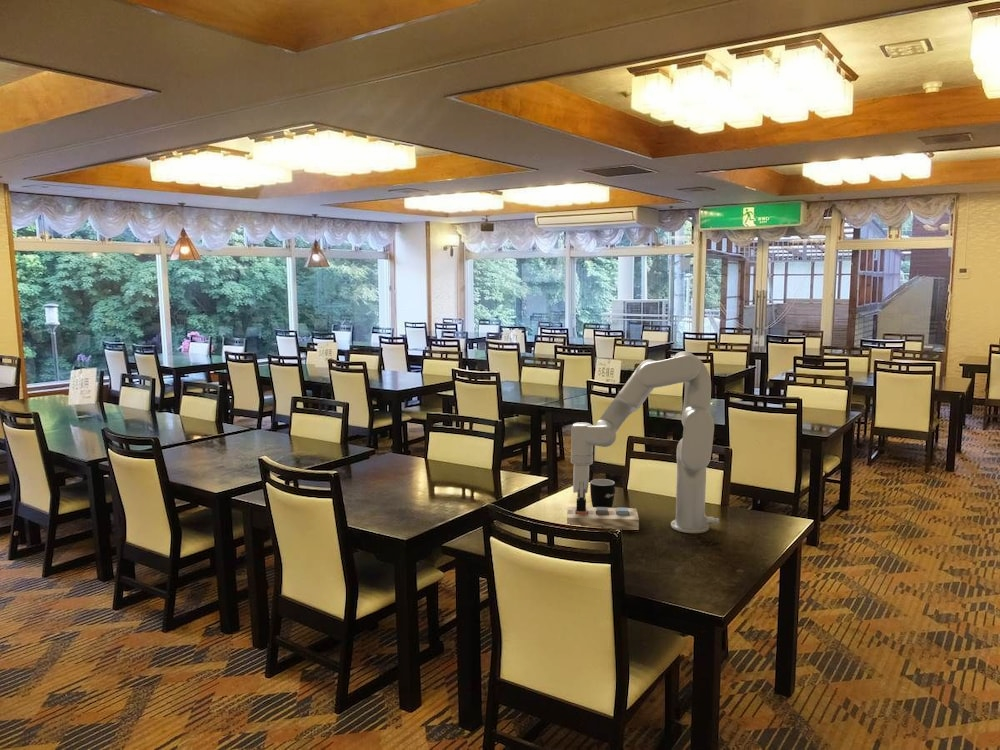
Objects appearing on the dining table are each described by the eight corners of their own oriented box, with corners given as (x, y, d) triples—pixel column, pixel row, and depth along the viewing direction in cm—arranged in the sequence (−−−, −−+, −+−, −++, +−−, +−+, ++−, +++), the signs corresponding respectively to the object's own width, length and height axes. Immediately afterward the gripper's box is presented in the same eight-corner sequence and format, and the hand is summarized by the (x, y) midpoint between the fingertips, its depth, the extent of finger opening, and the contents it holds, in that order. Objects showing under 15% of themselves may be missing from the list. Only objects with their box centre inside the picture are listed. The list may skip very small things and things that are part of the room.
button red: (586, 516, 252) (587, 508, 251) (587, 520, 248) (587, 512, 248) (576, 516, 252) (576, 508, 252) (576, 519, 249) (576, 511, 248)
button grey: (607, 514, 251) (607, 507, 251) (607, 518, 247) (607, 510, 247) (596, 514, 251) (596, 506, 251) (597, 518, 248) (597, 510, 247)
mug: (605, 514, 260) (605, 487, 259) (585, 509, 266) (585, 482, 265) (624, 506, 268) (624, 480, 267) (604, 501, 275) (604, 475, 273)
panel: (635, 519, 254) (636, 508, 254) (638, 531, 242) (638, 519, 242) (567, 517, 257) (567, 506, 256) (566, 528, 245) (567, 517, 245)
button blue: (627, 515, 250) (627, 507, 250) (628, 518, 247) (628, 510, 246) (617, 515, 251) (617, 507, 250) (617, 518, 247) (617, 510, 247)
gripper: (571, 453, 255) (570, 503, 258) (570, 463, 240) (569, 517, 243) (592, 453, 254) (591, 504, 257) (593, 464, 240) (592, 517, 242)
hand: (581, 510), depth 250 cm, fingers closed
